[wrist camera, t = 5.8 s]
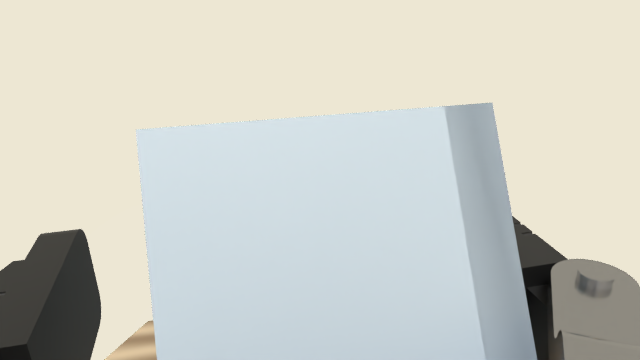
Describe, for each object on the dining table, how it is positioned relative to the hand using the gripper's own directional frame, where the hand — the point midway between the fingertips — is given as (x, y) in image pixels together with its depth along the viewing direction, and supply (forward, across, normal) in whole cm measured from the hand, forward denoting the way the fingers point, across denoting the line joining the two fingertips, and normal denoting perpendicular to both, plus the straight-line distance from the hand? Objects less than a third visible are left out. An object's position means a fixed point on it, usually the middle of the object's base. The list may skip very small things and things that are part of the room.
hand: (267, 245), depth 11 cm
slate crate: (+5, 0, +7) cm, 8 cm away
